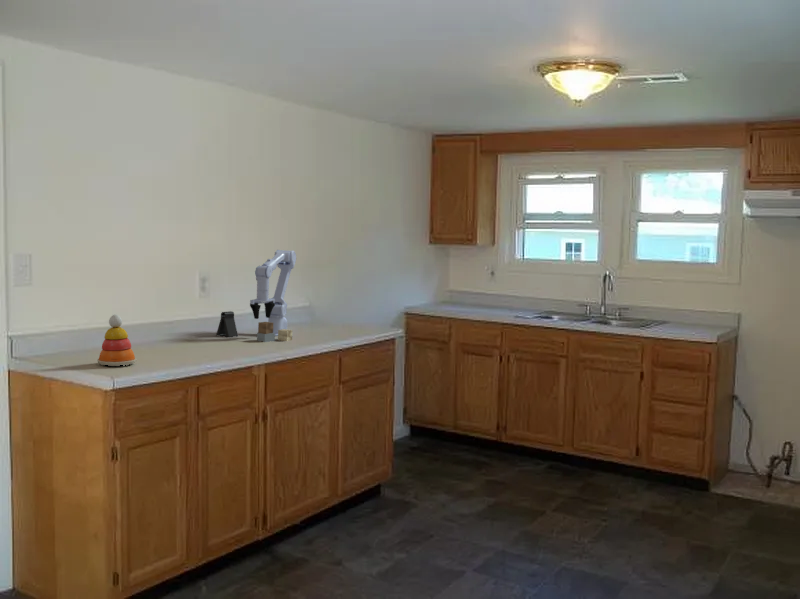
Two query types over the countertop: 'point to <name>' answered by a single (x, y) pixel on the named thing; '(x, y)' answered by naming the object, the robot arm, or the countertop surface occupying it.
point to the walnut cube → (265, 327)
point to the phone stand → (227, 325)
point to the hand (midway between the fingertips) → (262, 318)
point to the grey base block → (266, 337)
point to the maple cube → (285, 335)
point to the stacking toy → (116, 345)
